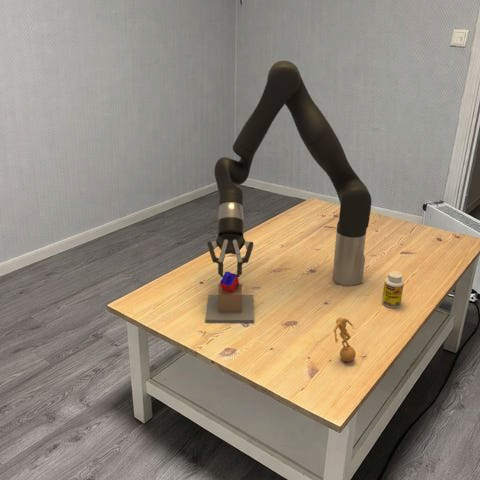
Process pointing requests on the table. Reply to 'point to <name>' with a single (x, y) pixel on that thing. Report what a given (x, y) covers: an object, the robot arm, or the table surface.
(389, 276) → the supplement bottle
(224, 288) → the toy building block
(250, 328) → the table surface
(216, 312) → the plate
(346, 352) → the figurine
